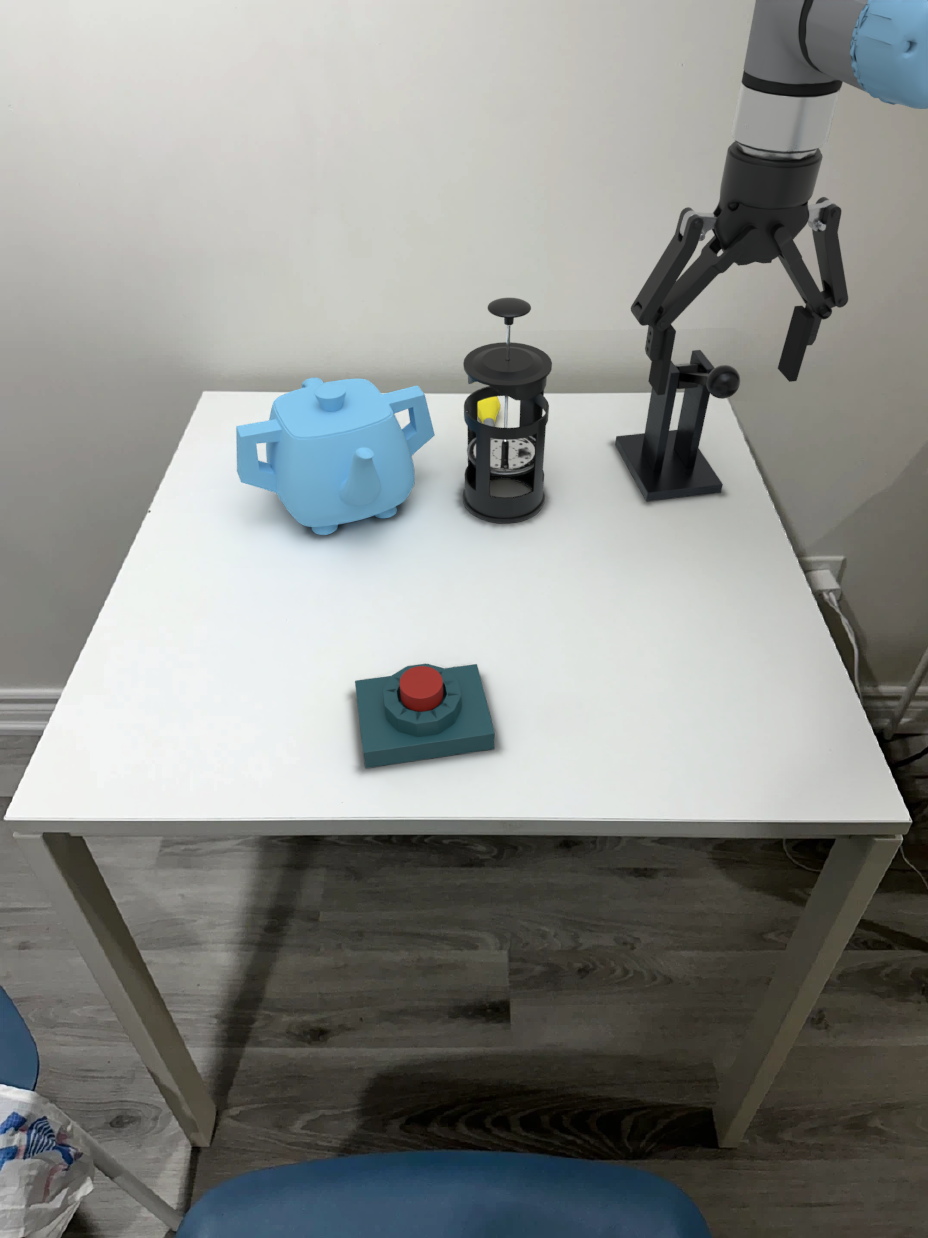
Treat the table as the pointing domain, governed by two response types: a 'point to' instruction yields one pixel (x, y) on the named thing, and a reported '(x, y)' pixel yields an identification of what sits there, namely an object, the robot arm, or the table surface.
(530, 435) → the french press
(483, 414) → the light bulb
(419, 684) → the stop button
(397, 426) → the teapot
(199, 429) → the table surface
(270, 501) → the table surface
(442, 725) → the button box
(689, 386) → the switch lever
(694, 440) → the ball knob lever stand
